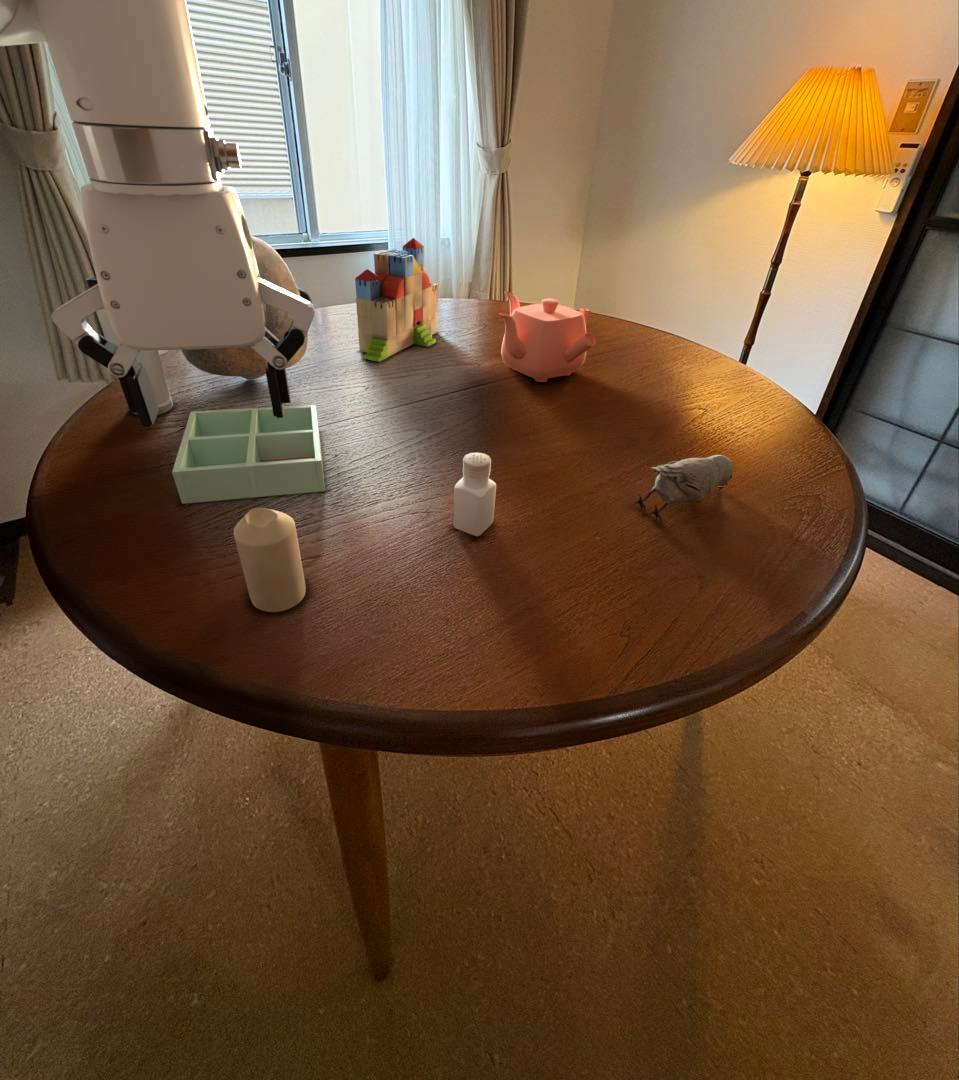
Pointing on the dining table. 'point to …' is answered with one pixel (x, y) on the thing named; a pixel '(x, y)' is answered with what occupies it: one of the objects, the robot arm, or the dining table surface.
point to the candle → (270, 559)
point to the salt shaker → (474, 495)
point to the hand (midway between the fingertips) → (216, 415)
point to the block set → (396, 303)
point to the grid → (249, 454)
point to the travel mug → (141, 361)
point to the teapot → (545, 338)
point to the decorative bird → (689, 480)
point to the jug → (278, 322)
